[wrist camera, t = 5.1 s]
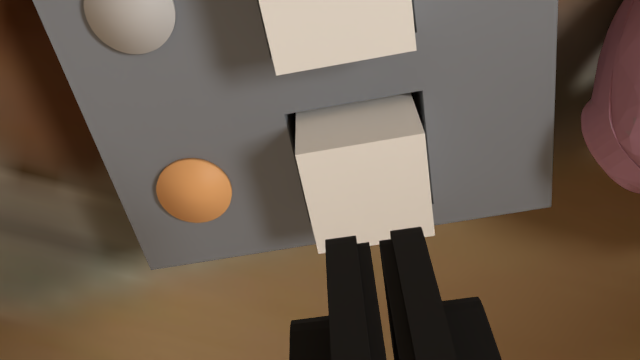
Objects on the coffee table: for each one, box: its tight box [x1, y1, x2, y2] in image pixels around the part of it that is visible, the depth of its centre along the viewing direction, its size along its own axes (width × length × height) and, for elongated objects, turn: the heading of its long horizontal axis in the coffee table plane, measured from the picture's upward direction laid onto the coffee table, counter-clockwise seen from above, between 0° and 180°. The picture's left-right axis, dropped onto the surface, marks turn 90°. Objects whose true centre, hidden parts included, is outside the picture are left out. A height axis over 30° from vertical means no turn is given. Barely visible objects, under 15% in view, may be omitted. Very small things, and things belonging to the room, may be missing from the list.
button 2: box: [295, 93, 435, 254], centre depth 19 cm, size 4×4×3 cm
